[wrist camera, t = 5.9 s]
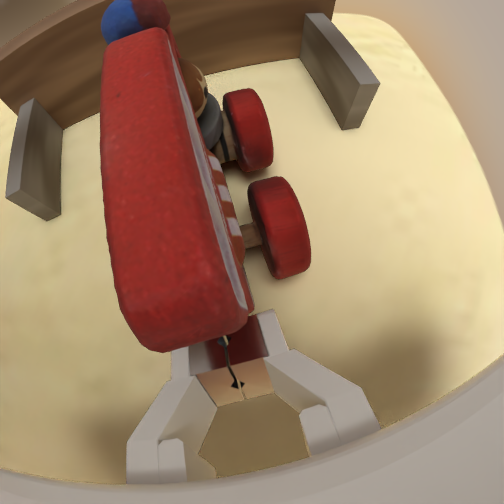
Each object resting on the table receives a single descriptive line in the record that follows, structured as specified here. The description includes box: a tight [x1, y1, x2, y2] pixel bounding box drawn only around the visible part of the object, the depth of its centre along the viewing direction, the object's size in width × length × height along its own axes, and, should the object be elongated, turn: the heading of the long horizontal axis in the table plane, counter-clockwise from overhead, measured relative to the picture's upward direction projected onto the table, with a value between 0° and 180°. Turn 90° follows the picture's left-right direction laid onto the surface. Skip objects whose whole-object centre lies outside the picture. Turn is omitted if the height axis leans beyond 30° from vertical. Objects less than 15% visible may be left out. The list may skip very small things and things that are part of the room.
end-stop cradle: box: [0, 0, 380, 221], centre depth 12 cm, size 9×21×8 cm, turn 107°
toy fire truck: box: [100, 0, 311, 353], centre depth 10 cm, size 7×12×10 cm, turn 15°
